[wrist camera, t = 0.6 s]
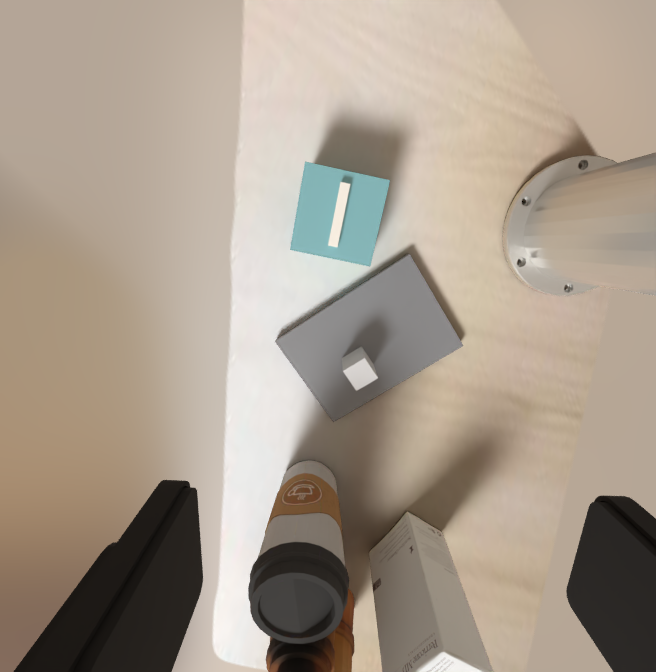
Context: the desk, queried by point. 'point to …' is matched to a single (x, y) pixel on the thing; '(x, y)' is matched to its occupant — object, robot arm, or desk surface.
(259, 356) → the desk surface
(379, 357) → the board
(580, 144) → the desk surface
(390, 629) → the skincare box
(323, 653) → the binoculars
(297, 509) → the coffee cup
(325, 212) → the teal box
